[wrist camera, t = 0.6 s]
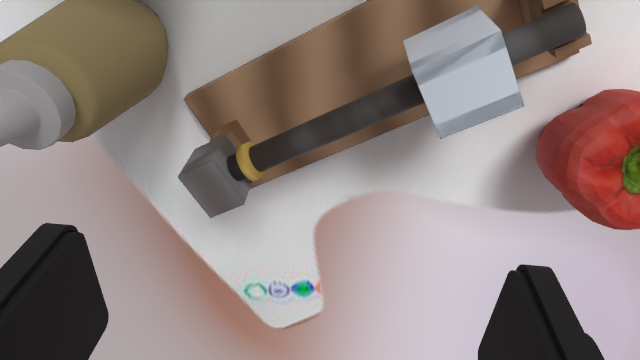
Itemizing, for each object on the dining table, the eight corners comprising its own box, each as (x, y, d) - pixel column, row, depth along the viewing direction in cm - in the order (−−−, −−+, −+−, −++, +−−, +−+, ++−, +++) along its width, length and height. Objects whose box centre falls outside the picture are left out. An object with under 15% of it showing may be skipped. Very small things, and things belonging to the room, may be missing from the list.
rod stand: (543, -91, 29) (607, -82, 21) (574, 48, 33) (636, 95, 26) (187, 94, 38) (145, 146, 30) (250, 183, 42) (227, 247, 35)
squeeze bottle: (160, -29, 33) (-8, 45, 18) (196, 76, 37) (85, 208, 22) (61, -10, 34) (-175, 74, 19) (107, 90, 38) (-56, 223, 23)
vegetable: (552, 52, 34) (615, 107, 25) (689, 65, 34) (799, 125, 25) (507, 172, 40) (546, 249, 32) (623, 185, 40) (694, 265, 31)
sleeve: (477, 5, 28) (501, 30, 24) (497, 71, 31) (523, 106, 26) (403, 40, 30) (411, 70, 25) (428, 100, 32) (440, 138, 27)
